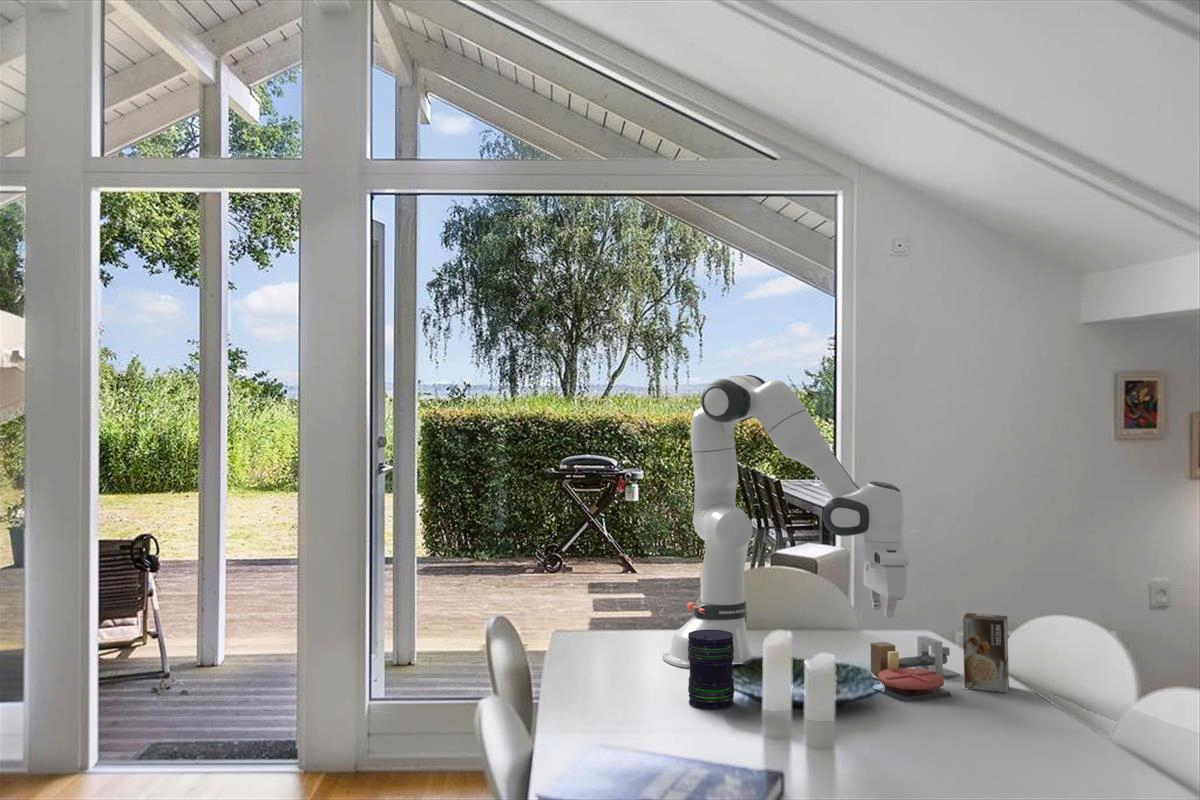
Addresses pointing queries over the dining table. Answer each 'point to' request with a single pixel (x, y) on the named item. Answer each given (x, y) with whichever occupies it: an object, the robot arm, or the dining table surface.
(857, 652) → the dining table surface
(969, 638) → the coffee box
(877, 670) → the hook
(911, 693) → the wheel base
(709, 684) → the storage jar
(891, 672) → the handwheel
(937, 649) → the eye bracket
